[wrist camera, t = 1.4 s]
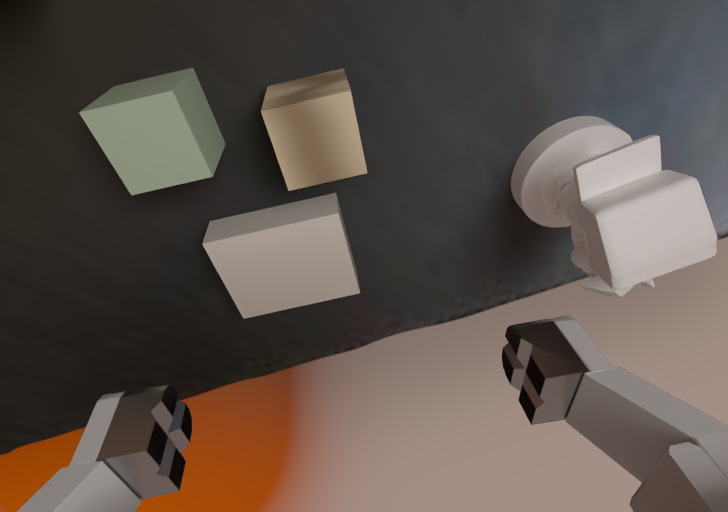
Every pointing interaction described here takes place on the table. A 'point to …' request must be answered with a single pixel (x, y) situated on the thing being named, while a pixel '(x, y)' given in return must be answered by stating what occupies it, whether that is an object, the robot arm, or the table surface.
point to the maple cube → (314, 129)
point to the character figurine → (613, 203)
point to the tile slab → (283, 256)
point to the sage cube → (157, 131)
